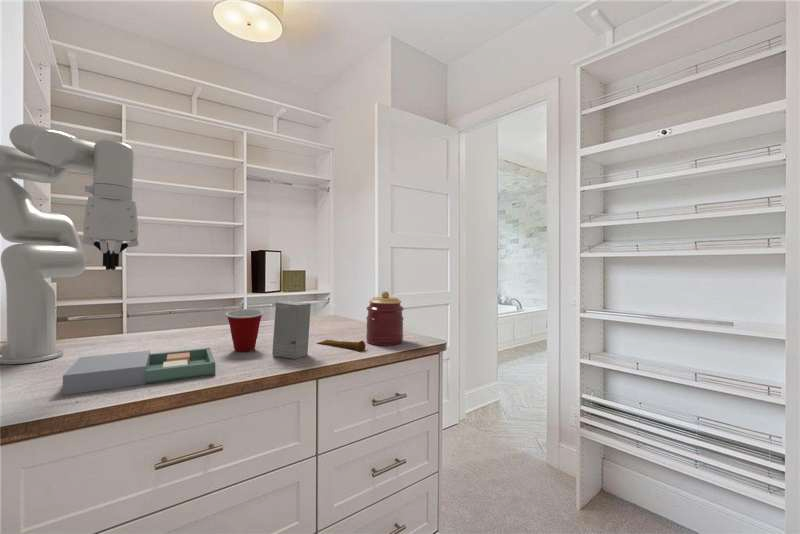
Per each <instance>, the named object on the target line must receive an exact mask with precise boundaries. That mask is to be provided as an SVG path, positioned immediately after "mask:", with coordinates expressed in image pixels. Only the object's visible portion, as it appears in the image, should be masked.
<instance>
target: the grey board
mask: <svg viewBox="0 0 800 534" xmlns="http://www.w3.org/2000/svg"><path fill="white" fill-rule="evenodd" d="M150 354H151V350H142V351H131V352H120V353H111V354H99V355H90V356H81V357H79V358H78V359H77V360H76V361H75V362H74V363H73V364H72V365H71V366H70V367H69V369H67V370H66V371H65V373H63V375H62V395H63V396H64V395H66V396H67V395H73V394H79V393H86V392H87V393H89V392H93V391H94V392H95V391H102V390H109V389H118V388H125V387H131V386H139V385H147V384H146V370H149V366H150Z"/></svg>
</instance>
